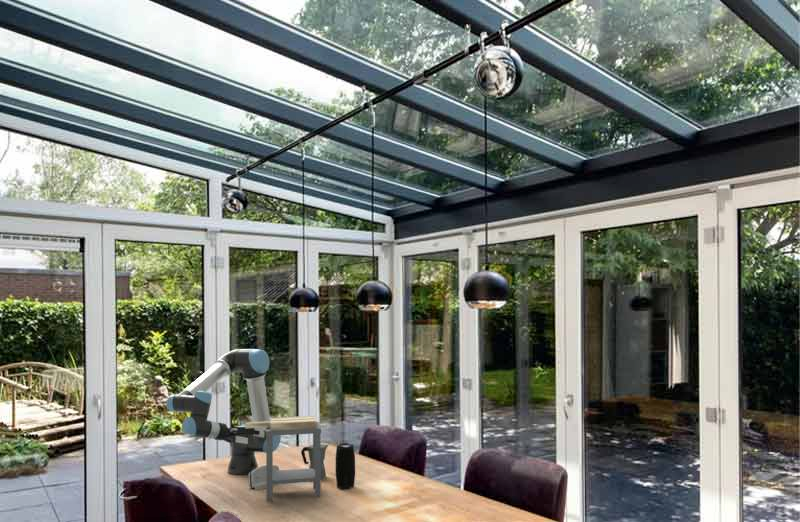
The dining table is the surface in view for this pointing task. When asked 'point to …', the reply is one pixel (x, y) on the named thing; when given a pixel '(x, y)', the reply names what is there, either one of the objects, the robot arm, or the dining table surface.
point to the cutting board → (285, 423)
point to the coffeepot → (310, 451)
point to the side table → (296, 474)
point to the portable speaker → (345, 466)
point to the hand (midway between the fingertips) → (255, 437)
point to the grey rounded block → (259, 477)
